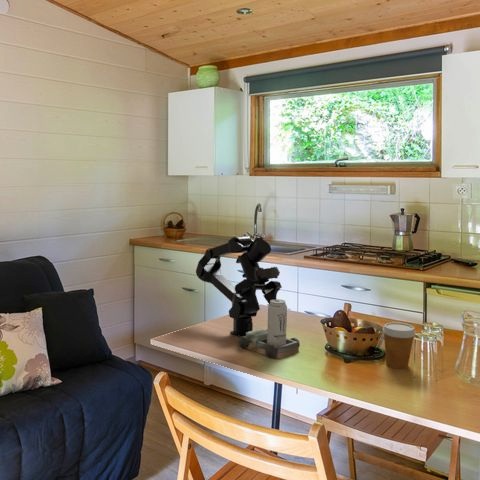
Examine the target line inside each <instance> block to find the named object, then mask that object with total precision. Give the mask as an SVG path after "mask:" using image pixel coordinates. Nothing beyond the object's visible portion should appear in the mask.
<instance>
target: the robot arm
mask: <svg viewBox="0 0 480 480" xmlns="http://www.w3.org/2000/svg"><path fill="white" fill-rule="evenodd" d="M271 252H272V246H271V245H270V243H268V241H266V240H264V239H263V237H262V236H258V237H255V239H254V240H253V239H252V237H251V235H241V236H232V237H231V238H230V239H228V241H227V242H226V243H223V244H220V245H217V246H214V247H211V248H210V247H209V248H207V249H206V250H205V253H204V255H203V256H202V257H201V258H200V259H199V260H198V262H197V266H196V270H195V274H196V276H197V278H198V279H199V280H200V281H202V282H205V283H208V284H211V285H213V287H215V289H217V290H218V291H219V292H220V293H221V294H222V295H224V296H225V297H226V299H227V300H229V301H230V302H231V307H230V309H229V310H228V315H229V317H230V318H231V319H233V328H232V329H233V330H232V331H230V332H229V333H230V334H232V335H235V336H238V337H239V338H240V337H242V336H246V332H250V331H253V330H254V329H253V328H254V326H253V325H254V323H253V317H256V316H257V314H258V312H259V311H260V308H261V307H260V304H259V300H258V297H257V294H256V293H257V291H261V293H262V294H263V298H264V299H265V301H266V302H267V303H268V305H269V304H270V300H274V299H277V296H278V295H277V294H278V292H279V291H280V290H281V289H282V288H283V287H282V285H281V282H280V281H278V280H272V279H278V277H279V276H280V273H281V272H280V270H279V268H278V267H277V266H273V267H272V266H271V267H267V268H263V267H260V265H259V263H260V262H262V261H263V260H264V259H265V258H267V256H268V255H269V254H271ZM230 254H240V255H237V258H236V260H235V264H240V266H241V268H242V270H243V274H241V276H242V278H244V279H243V280H241V281H239V282H238V283H237V284H235V285H234V284H232V282H230V281H229V280H228V279H227V278H226V277H224V275H222V274H221V273H222V272H221V268H222V262H221V257H225V256H228V255H230ZM212 259H215V260H214V262H212V263H209V262H210V261H211V260H212Z"/></svg>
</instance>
